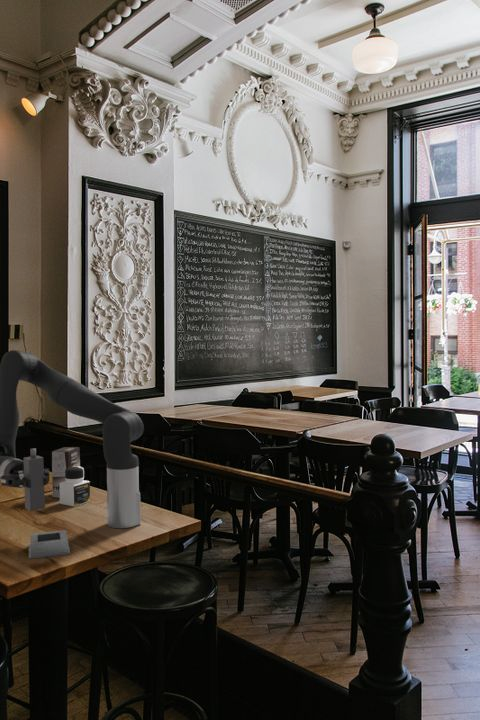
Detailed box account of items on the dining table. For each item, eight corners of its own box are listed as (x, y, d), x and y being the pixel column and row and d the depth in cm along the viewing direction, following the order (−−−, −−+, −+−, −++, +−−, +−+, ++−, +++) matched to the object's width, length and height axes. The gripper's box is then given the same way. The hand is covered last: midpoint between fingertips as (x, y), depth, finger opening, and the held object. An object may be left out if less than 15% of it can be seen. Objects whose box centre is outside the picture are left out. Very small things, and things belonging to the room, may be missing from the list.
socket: (67, 541, 162) (67, 529, 162) (70, 554, 153) (70, 541, 153) (28, 545, 159) (28, 533, 159) (28, 559, 149) (28, 545, 149)
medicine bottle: (74, 507, 195) (73, 470, 194) (59, 503, 198) (58, 468, 198) (90, 501, 201) (90, 466, 200) (75, 498, 204) (75, 464, 204)
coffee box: (68, 498, 205) (68, 451, 204) (51, 497, 206) (51, 451, 206) (81, 491, 214) (80, 446, 213) (64, 490, 215) (63, 446, 215)
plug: (39, 505, 166) (37, 446, 166) (44, 508, 163) (43, 448, 163) (25, 508, 164) (23, 448, 163) (30, 511, 161) (28, 450, 160)
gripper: (-10, 463, 170) (11, 473, 156) (39, 456, 179) (62, 465, 165) (-9, 489, 170) (11, 501, 157) (40, 480, 179) (63, 491, 166)
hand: (38, 482), depth 161 cm, fingers closed on plug, 4 cm apart
